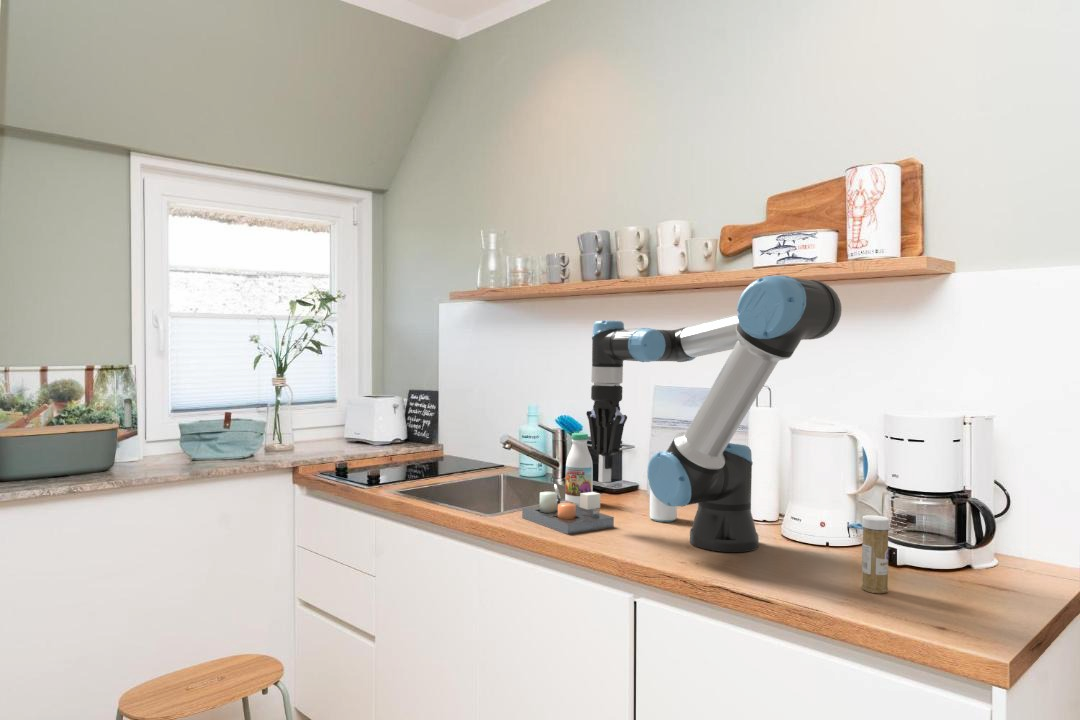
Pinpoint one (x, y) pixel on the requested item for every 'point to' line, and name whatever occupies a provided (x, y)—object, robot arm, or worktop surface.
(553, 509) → the button
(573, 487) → the milk bottle
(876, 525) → the spice jar
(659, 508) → the can
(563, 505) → the button
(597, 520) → the grey base platform
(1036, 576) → the worktop surface
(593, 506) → the slider
